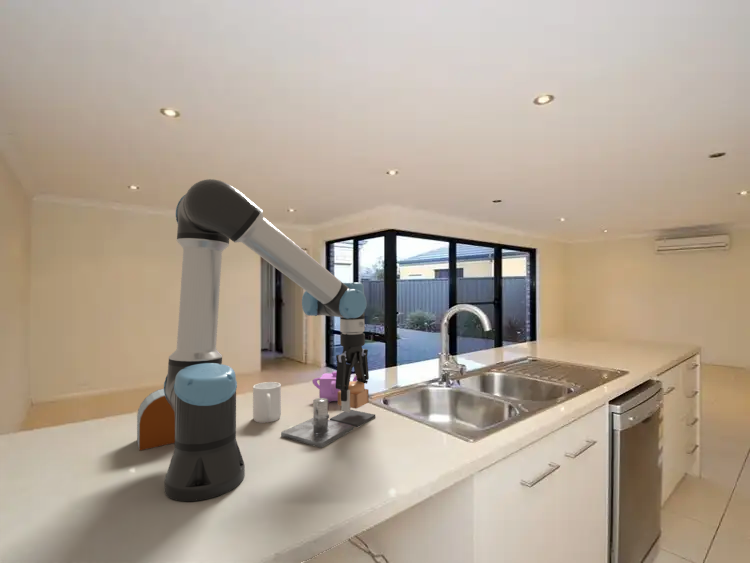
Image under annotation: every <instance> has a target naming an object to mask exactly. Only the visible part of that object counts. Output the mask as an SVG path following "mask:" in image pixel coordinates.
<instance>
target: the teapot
mask: <svg viewBox="0 0 750 563" xmlns="http://www.w3.org/2000/svg"><path fill="white" fill-rule="evenodd" d="M336 373H337V370H333V371H331V372H330V373H329V372H328V373H327V372H326V373H324V372H323V373H322V374H321V377H315V378H313V379H312V384H313V385H314V386H315V387H316V388H317V389H318V390H319V393H318V394H319V396H318V397H319V398H325V399H328V404H330V403H331V402H338V391H341V390H340V389H336ZM318 381H319V383H318ZM352 381H357V377H356V375H355V376H354V377H353V379H352Z"/></svg>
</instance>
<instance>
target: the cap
mask: <svg viewBox="0 0 750 563" xmlns="http://www.w3.org/2000/svg"><path fill="white" fill-rule="evenodd" d="M365 385H366V384H364V383H363V382H359V381H353V380H352V381H351V380H350V382H349V387H348V390H350V409H355V410H357V409H358V408H360V407H363V406H365V405H366V404H368V403H369V401H370V400H369V399H370V398H369V389H367V388H365V387H366V386H365ZM337 406H340V407H341V391H338V401H337Z"/></svg>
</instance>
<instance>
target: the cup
mask: <svg viewBox="0 0 750 563" xmlns="http://www.w3.org/2000/svg"><path fill="white" fill-rule="evenodd" d="M281 393H282V384H281V383H280V382H275V381H267V382H260V383H256V384H254V385H253V386H252V418H253V420H254V421H255V422H257V423H260V424H262V423H263V424H264V423H265V422H267V423H271V422H275V421H278V420H279V419H280V418H281V415H282V394H281Z"/></svg>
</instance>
